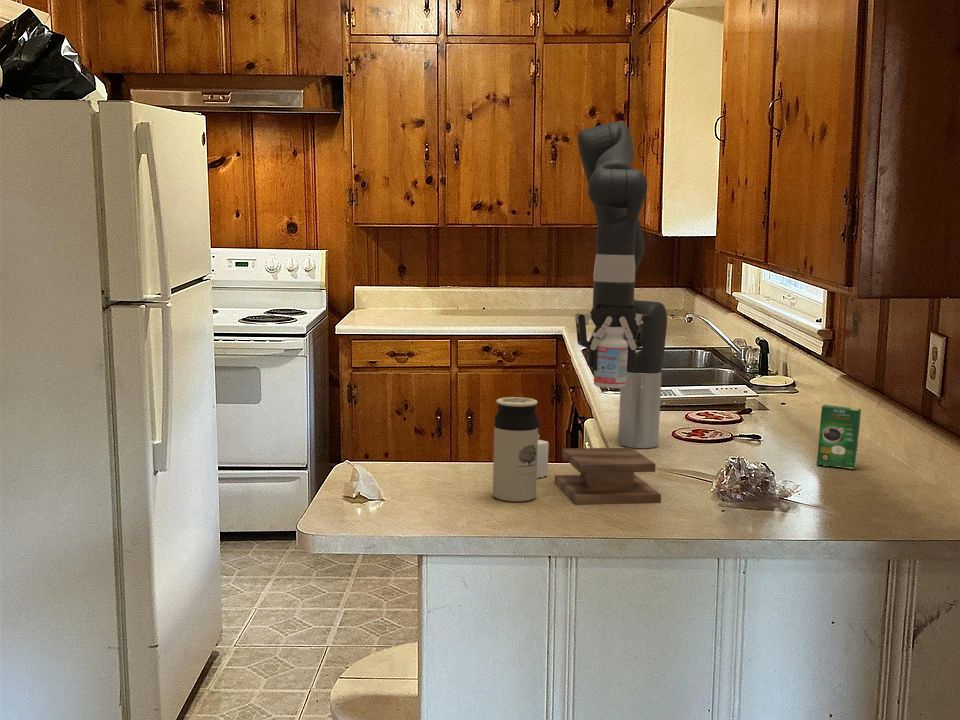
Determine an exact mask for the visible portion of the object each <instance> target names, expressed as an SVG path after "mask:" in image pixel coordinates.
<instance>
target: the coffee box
mask: <svg viewBox="0 0 960 720" xmlns="http://www.w3.org/2000/svg"><path fill="white" fill-rule="evenodd" d="M820 411H821V412H820V423H819V431H818V432H819V434H818V444H817V445H818V447H817V456H816V457H817V458H816V459H817V460H816V466H818V465H826V466H827V465H828V466H841V467H852V468H855V469H856V467H855V466H857V456H858V447H859V435H860V427H861V426H860V424H861V416H862V415H861V413H862V408H855V407H846V406H838V405H830V404H822V406H821V410H820Z"/></svg>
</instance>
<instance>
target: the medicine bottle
mask: <svg viewBox="0 0 960 720" xmlns="http://www.w3.org/2000/svg"><path fill="white" fill-rule="evenodd" d="M540 425H541V421H540V418H538V449H537V478H538V477H541V476H546V475H547V476H549V475H548V474H549V473H548V471H549V442H548V440H546V441H545V440H542V439H540V434H541V433H540V431H541V430H540V428H541V426H540ZM538 479H539V478H538Z"/></svg>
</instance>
